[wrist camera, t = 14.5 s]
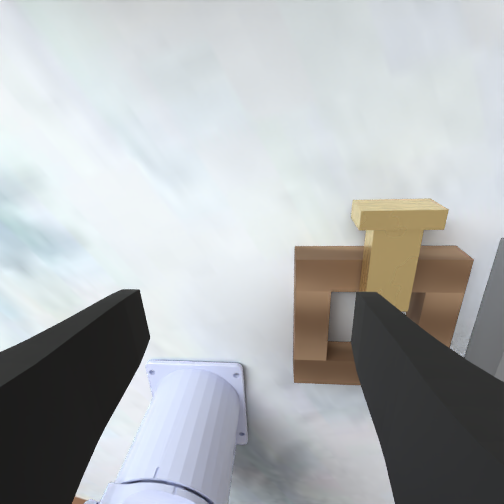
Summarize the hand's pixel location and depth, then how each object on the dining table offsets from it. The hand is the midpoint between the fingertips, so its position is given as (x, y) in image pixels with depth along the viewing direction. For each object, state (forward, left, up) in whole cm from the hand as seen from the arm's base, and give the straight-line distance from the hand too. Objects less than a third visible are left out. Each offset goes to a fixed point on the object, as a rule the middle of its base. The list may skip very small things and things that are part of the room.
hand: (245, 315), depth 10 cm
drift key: (-1, -7, -8) cm, 11 cm away
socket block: (-7, -7, -10) cm, 14 cm away
